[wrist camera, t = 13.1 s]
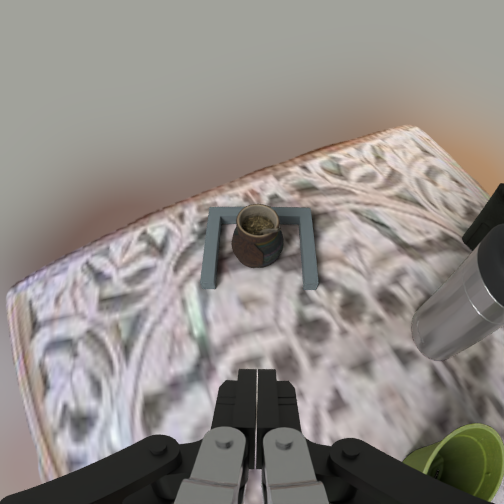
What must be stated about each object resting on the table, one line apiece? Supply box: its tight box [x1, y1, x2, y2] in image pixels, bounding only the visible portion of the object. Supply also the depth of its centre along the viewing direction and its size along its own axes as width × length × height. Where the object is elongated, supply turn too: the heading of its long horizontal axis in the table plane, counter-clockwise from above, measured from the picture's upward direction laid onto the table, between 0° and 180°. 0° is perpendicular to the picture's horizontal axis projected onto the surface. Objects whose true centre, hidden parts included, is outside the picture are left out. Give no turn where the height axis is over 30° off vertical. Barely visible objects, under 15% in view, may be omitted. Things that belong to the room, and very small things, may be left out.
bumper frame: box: [200, 207, 318, 290], centre depth 46 cm, size 16×13×2 cm
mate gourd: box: [232, 204, 283, 268], centre depth 42 cm, size 7×8×10 cm
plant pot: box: [402, 423, 504, 502], centre depth 23 cm, size 12×12×11 cm
